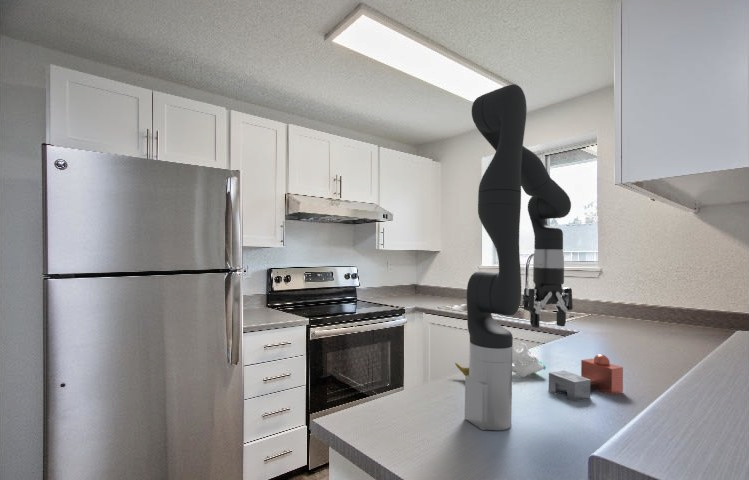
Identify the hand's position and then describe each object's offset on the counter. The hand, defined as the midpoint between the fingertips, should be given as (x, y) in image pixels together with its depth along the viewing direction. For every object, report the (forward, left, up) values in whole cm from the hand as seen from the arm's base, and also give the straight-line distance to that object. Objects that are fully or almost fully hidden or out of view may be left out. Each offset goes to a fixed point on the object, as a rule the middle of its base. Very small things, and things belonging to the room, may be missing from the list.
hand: (548, 326), depth 99 cm
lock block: (+7, -1, -19) cm, 20 cm away
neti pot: (-11, +15, -19) cm, 26 cm away
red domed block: (+17, -1, -18) cm, 25 cm away
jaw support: (+9, +17, -19) cm, 26 cm away
